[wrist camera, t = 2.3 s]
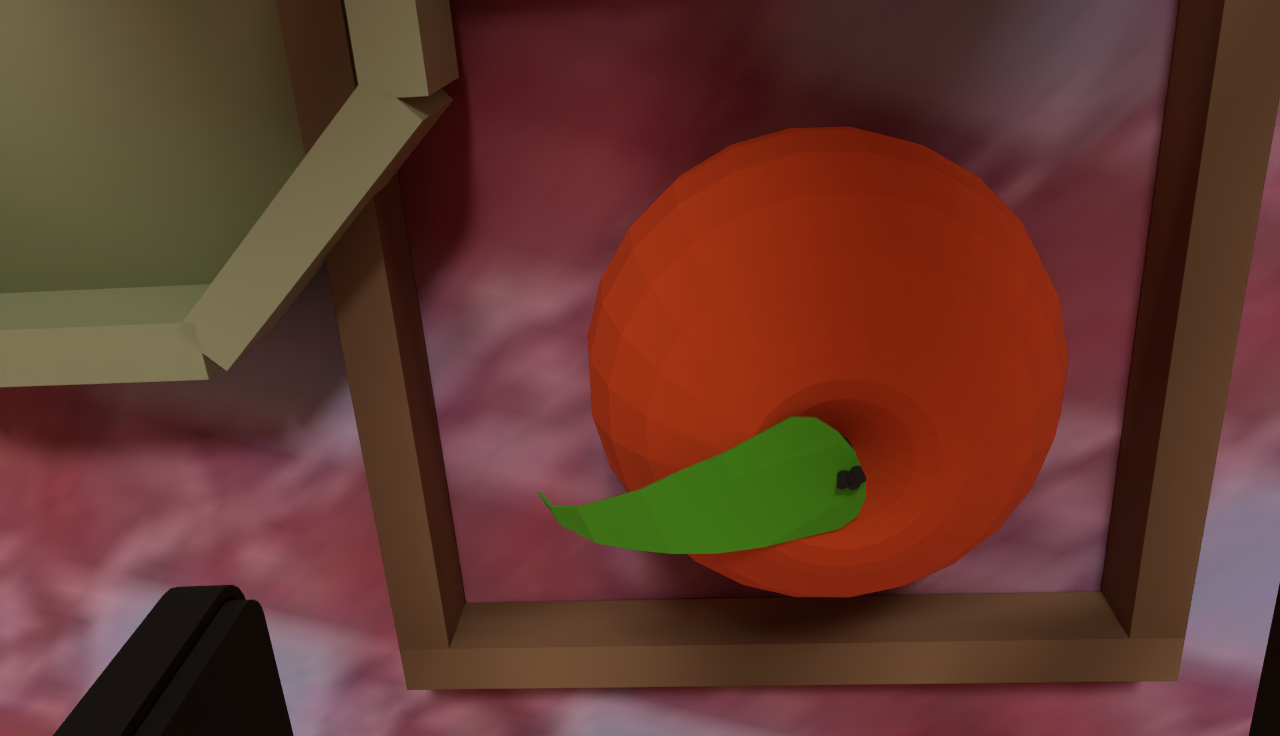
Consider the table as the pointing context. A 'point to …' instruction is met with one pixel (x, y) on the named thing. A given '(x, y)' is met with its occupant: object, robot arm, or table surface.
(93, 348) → the dish
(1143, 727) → the table surface
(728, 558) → the clementine
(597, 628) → the brown rectangular frame
